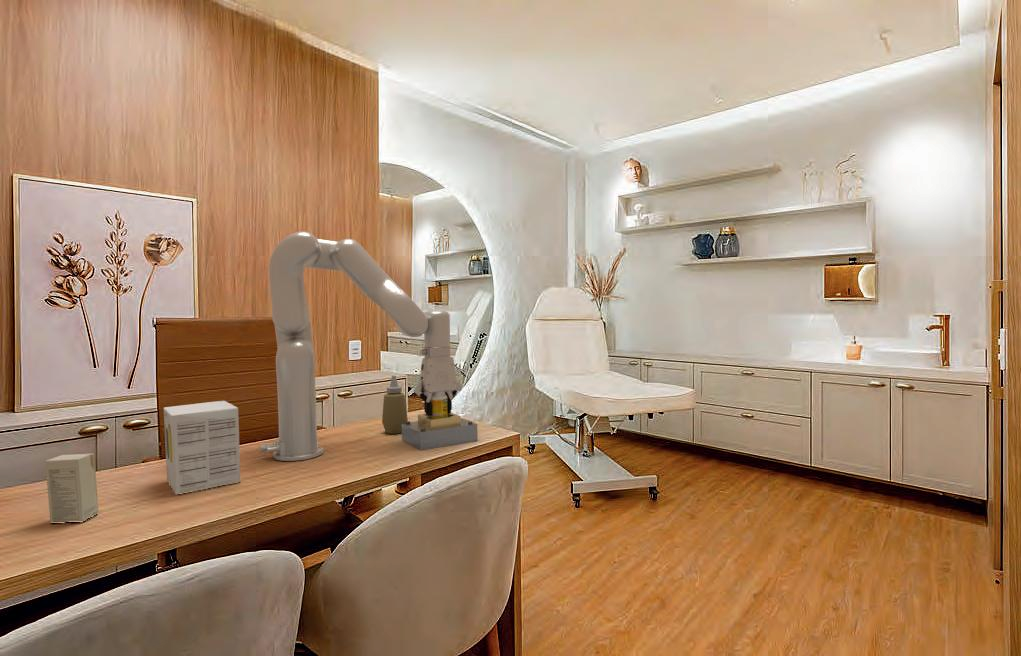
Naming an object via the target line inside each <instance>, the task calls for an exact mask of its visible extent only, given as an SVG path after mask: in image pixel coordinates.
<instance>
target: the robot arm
mask: <svg viewBox="0 0 1021 656" xmlns="http://www.w3.org/2000/svg"><path fill="white" fill-rule="evenodd" d="M305 268H313V269H318V270H319V269H322V270H329V271H338V272H339V271H340V272H341V271H342V272H343V273H344V274H345V276H347V277H348V279H350V280H351V282H353V284H354V285H355V286H356V287H357V289H359V290H360V291H361V293H362V294H363V295H364V296H365V297H366V298H367V299H369V300H370V302H372V303H375V304H376V305H377V306H378V307H380V308H381V309H382V310H383V311H384V312H385V313H386V314H387V315H388V316H389V317H390V318H391V319H392V320H393V322H395V326H396V328H397V330H398V332H399V333H400V334H402V335H403V336H407V337H410V338H418V337H421V336H424V337H423V338H424V339H423V341H424V343H423V344H424V347H423V349H420V351H419V352H420V355H423V356H424V357H422V359H421V366H420V374H419V382H418V384H417V385H416V386H415V387H414V389H413V393H414V394H415V395H417V396H418V397H419V398H420V399H421V400H422V401H423V402H424V405H423V407H424V414H426V415H428V416H432V402H430V400H431V396H432V393H435V392H445V393H444V394H445V395H447V410H448V413H449V414H450V413H452V410H453V404H452V403H453V399H454V397H455V396H456V395H457V393H458V392H459V391H460V390H461V389H462V385H461V384H460V383H459V381H458V380H457V371H456V370H457V369H456V364H455V360H454V357H453V356H451V317H450V316H451V315H450V313H449V312H448V311H445V310H430V311H422V309H421V308H420V307H419V306H418V304H416V302H414V301H413V300H412V298H411V297H410V296H409V295H408V294H407V292H405V291H404V290H403V289H402V288H401V287H400V286H399V285H398V284H397V283H396V282H395V281H394V279H392V278H391V277H390V276H389V275H388V274H387V273H386V271H385V270H384V269H383V268H382V267H381V266H380V265H379V263H377V261H376V260H375V259H374V258H373V257H372V256H371V254H369V252H367V250H366V249H365V248H364V247H363V245H361V244H360V242H358V241H356V240H355V239H352V238H344V239H341V240H339V241H338V240H337V241H336V240H328V239H327V240H326V239H321V238H317V237H316V236H315V235H314V234H312V233H311V232H308V231H296V232H294V233H291V234H289V235H288V236H285V237H284V238H283V239H282V240H281V241H279V243H277V245H276V246H275V247H274V249H273V251H272V253H271V256H270V259H269V261H268V278H269V291H270V301H271V309H272V310H271V318H272V319H271V320H272V322H273V324H274V330H275V332H274V333H275V339H276V345H277V346H276V347H277V350H276V354H275V370H276V372H275V373H276V386H277V387H276V388H277V414H278V438H276V441H273V442H272V443H267V444H265V443H264V444H260V446H259V451H260V453H273V459H275V460H277V461H282V462H283V461H285V462H295V461H304V460H308V459H313V458H316V457H319V456H320V455H323V453H324V448H323V446H320V445H318V429H317V428H318V425H317V397H316V396H317V395H316V355H315V350H314V349H315V348H314V341H313V340H314V339H313V335H312V333H313V332H312V326H311V316H310V310H309V308H308V305H307V304H308V303H307V299H306V292H305V291H306V290H305V289H306V288H305V281H304V279H305V278H304V270H305ZM422 391H423V392H424V393H423V392H422Z"/></svg>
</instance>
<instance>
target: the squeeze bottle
mask: <svg viewBox="0 0 1021 656" xmlns="http://www.w3.org/2000/svg"><path fill="white" fill-rule="evenodd" d="M408 418H409V417H408V412H407V403H406V394H404V393H402V386H400V385H399V383H398V380H397V376H396V375H392V376H391V378H390V385H389V386H387V387H386V393H385V394H384V396H383V404H382V418H381V423H382V426H383V429H384V431H385V433H386V434H390V435H391V434H392V435H394V434H395V435H396V434H402V423H406V422H407V421H409V419H408Z"/></svg>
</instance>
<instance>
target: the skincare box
mask: <svg viewBox="0 0 1021 656" xmlns="http://www.w3.org/2000/svg"><path fill="white" fill-rule="evenodd" d="M44 464H45V469H46V470H45V471H46V472H45V475H46V485H47V496H48V497H47V498H48V509H49V520H50V522H69V521H84V520H86V519H88V518H89V517H91V516H93V515H95V514H97V513H100V511H99V501H98V487H97V475H96V473H97V472H96V461H95V453H94V452H93V453H79V454H78V453H75V454H73V453H72V454H71V453H70V454H61V455H58V456H55V457H53V458H52V457H51V458H49V459H47V460H45V461H44ZM88 520H89V519H88ZM86 521H87V520H86Z"/></svg>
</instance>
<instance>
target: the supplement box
mask: <svg viewBox="0 0 1021 656" xmlns="http://www.w3.org/2000/svg"><path fill="white" fill-rule="evenodd" d="M163 421H164V423H163V424H164V443H165V444H164V445H165V446H164V447H165V463H166V465H165V466H166V467H165V468H166V482H167V481H168V482H167V483H169V484H170V485H169V484H168V485H169V487H170V486H171V487H170V488H172V489H173V490H172V489H171V490H172V492H173V491H174V492H173V494H174V493H175V494H180V493H185V492H190V491H196V490H201V489H206V488H211V487H216V486H221V485H226V484H230V483H236V482H240V483H241V459H240V458H241V457H240V424H239V422H240V421H239V407H237V406H235V405H234V404H232V403H229V402H228V401H226V400H217V401H207V402H201V403H198V402H197V403H194V404H193V403H190V404H181V405H175V406H174V405H172V406H166V407H163ZM226 486H227V485H226ZM221 487H222V486H221ZM216 488H217V487H216ZM211 489H212V488H211ZM206 490H207V489H206ZM201 491H202V490H201ZM196 492H197V491H196ZM175 494H174V495H175Z"/></svg>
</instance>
